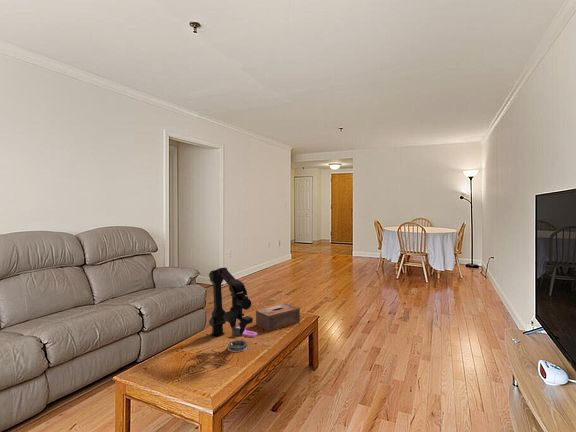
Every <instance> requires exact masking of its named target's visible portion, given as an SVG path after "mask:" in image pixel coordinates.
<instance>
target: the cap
mask: <svg viewBox="0 0 576 432" xmlns="http://www.w3.org/2000/svg"><path fill="white" fill-rule="evenodd" d="M242 335H243V334H240V326H234V327H232V329H231V336H232V337H234V338H241V337H243V336H242Z"/></svg>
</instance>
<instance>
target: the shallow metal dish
mask: <svg viewBox="0 0 576 432" xmlns="http://www.w3.org/2000/svg"><path fill="white" fill-rule="evenodd" d="M248 348H249V345H248V342H247V341H246V340H244V339H243V340H241V339H237V340H232V341H230V342H229V343H228V346H227V350H228V351H230V352H233V353H239V352H244V351H246V350H247V349H248Z"/></svg>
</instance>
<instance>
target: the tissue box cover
mask: <svg viewBox="0 0 576 432" xmlns="http://www.w3.org/2000/svg"><path fill="white" fill-rule="evenodd" d="M300 310H301V309H300V307H298V306H296V305H292V304H291V303H285V302H284V303H282V304H277V305H273V306H269V307H265V308H259V309H256V310H255V325H256V326H257V327H259V328H261V329H263V330H265V331H268V332H271V331H275V330H278V329H281V327H282V328H284V327H289V326H292V325H295V324H299V323H300V321H301V317H300V316H301V315H300V314H301V313H300V312H301V311H300ZM288 325H289V326H288Z"/></svg>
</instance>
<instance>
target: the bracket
mask: <svg viewBox="0 0 576 432" xmlns="http://www.w3.org/2000/svg"><path fill="white" fill-rule="evenodd" d="M236 326H240V325H239V324H238V323H236ZM241 337H246V338H256V337H258V332H256V331H252V330H247V326H246V327H245V329H244V332H243V335H242V336H241Z"/></svg>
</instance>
